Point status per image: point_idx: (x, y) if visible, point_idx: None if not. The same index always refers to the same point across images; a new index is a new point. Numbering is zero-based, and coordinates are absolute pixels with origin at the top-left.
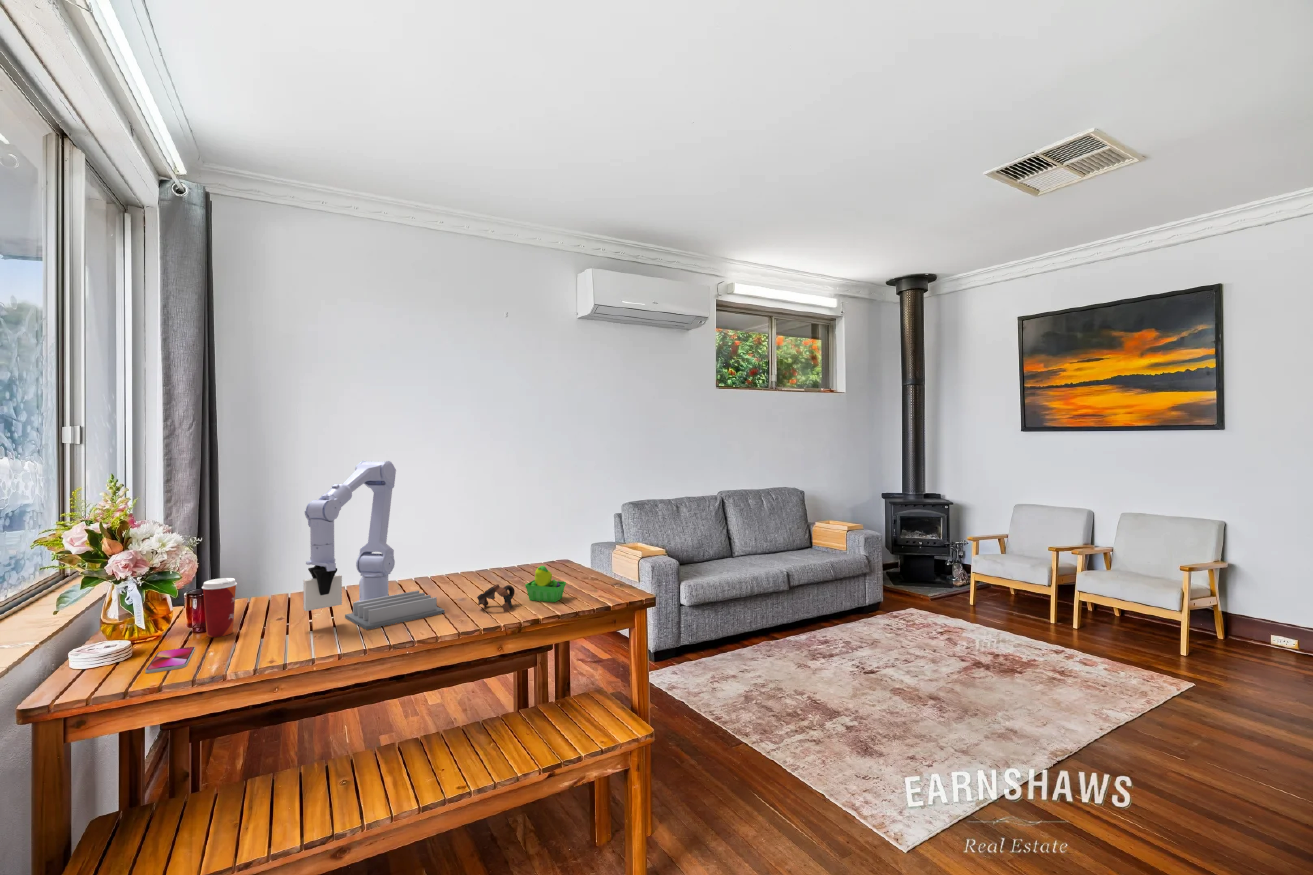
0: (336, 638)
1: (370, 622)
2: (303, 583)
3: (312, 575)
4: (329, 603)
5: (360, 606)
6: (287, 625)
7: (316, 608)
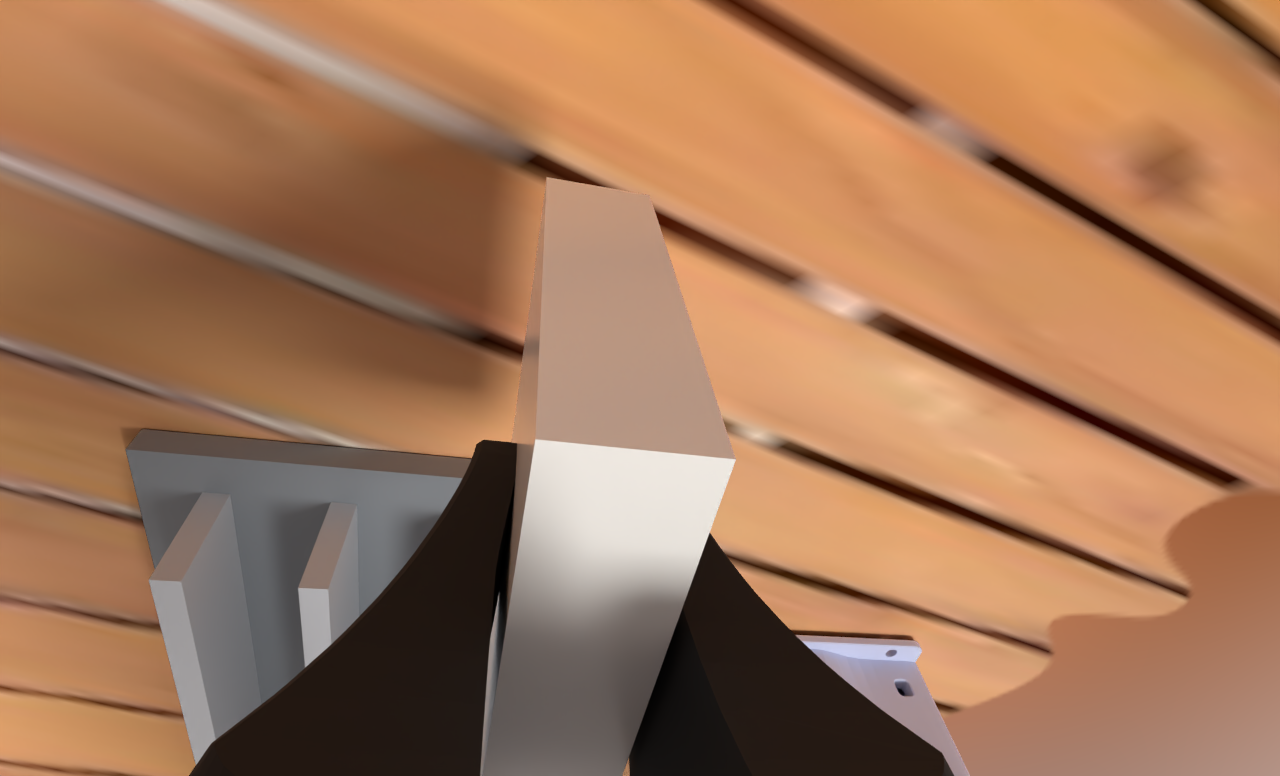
0: (23, 165)
1: (197, 503)
2: (713, 401)
3: (752, 666)
4: None
5: None
6: (908, 100)
7: (530, 302)
